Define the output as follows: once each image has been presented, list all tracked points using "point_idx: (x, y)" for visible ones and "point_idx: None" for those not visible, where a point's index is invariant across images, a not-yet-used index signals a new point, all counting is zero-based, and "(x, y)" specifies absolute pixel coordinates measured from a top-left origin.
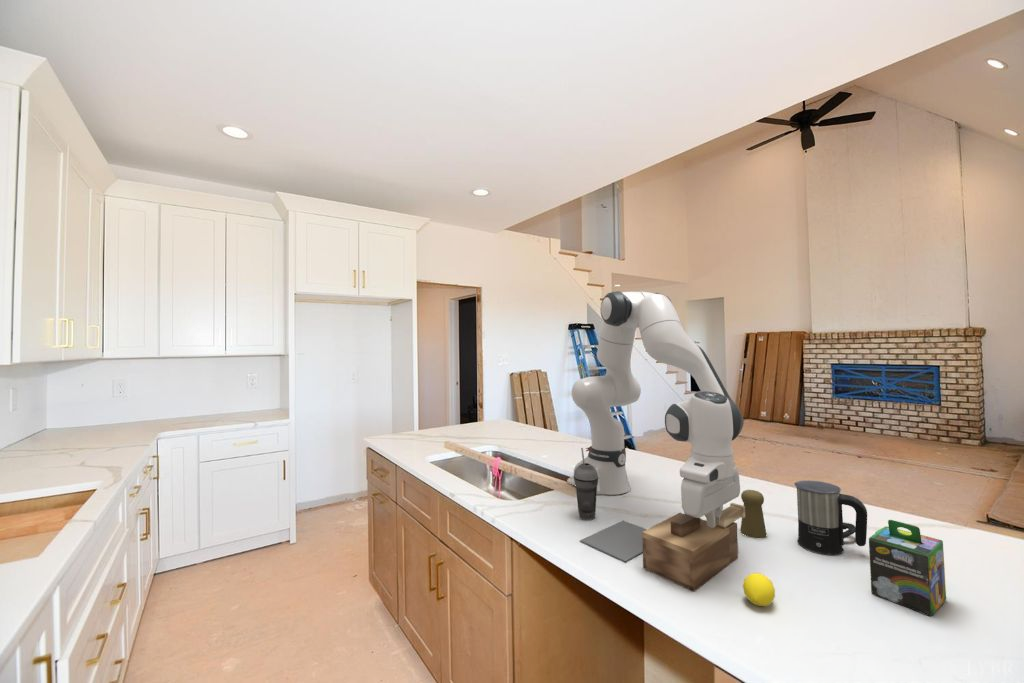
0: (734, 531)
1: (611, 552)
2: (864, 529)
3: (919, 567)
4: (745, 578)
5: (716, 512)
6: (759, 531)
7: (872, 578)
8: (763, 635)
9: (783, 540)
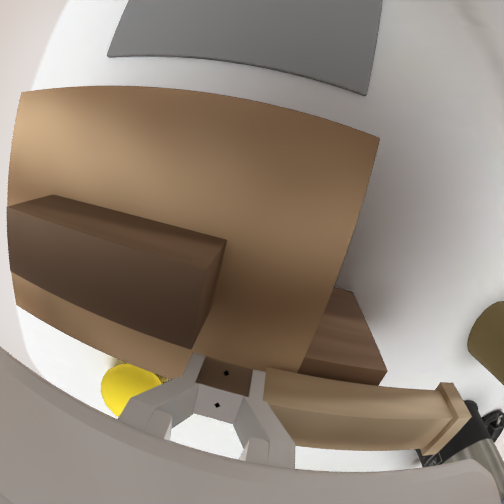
0: None
1: (136, 4)
2: None
3: None
4: (124, 383)
5: (248, 434)
6: (478, 358)
7: None
8: (72, 368)
9: (464, 384)
